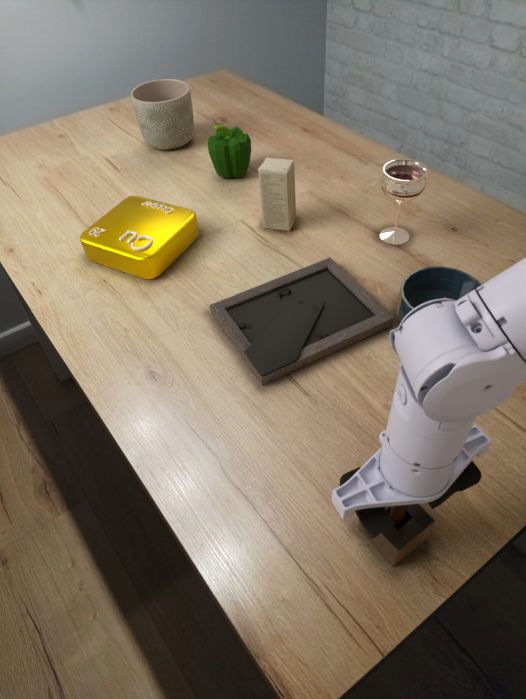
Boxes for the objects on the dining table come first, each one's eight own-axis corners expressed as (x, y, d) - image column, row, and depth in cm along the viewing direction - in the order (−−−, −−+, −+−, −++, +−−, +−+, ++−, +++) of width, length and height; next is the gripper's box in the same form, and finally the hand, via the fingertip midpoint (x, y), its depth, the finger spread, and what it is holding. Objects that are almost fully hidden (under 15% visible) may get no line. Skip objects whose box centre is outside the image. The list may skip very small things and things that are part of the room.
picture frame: (262, 385, 67) (392, 325, 73) (261, 375, 65) (394, 315, 71) (211, 312, 77) (329, 265, 83) (209, 302, 75) (330, 255, 81)
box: (296, 218, 92) (296, 159, 84) (289, 232, 89) (288, 173, 81) (268, 214, 93) (265, 156, 85) (261, 227, 91) (257, 169, 82)
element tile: (204, 232, 90) (200, 208, 87) (153, 283, 82) (146, 259, 78) (136, 213, 96) (130, 190, 92) (81, 259, 87) (72, 235, 84)
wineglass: (378, 221, 90) (386, 156, 81) (417, 227, 88) (431, 161, 79) (370, 244, 86) (378, 177, 77) (411, 250, 84) (425, 183, 75)
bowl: (482, 298, 76) (491, 275, 72) (474, 353, 69) (483, 330, 65) (404, 283, 79) (408, 260, 75) (389, 334, 72) (393, 311, 68)
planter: (133, 153, 112) (120, 101, 104) (153, 127, 120) (143, 77, 112) (187, 156, 110) (178, 103, 102) (204, 130, 118) (197, 79, 110)
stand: (392, 500, 55) (397, 482, 52) (428, 537, 52) (435, 520, 49) (357, 527, 53) (361, 510, 51) (392, 567, 51) (398, 551, 48)
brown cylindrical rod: (399, 527, 53) (415, 480, 46) (396, 539, 52) (412, 494, 45) (386, 522, 54) (400, 475, 46) (383, 535, 53) (396, 488, 45)
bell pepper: (252, 161, 107) (249, 112, 99) (253, 182, 101) (249, 131, 94) (212, 164, 107) (206, 115, 100) (210, 184, 101) (203, 134, 94)
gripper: (466, 368, 44) (435, 452, 54) (315, 431, 40) (312, 508, 50) (527, 431, 39) (480, 509, 49) (363, 508, 36) (349, 576, 46)
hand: (398, 513), depth 50 cm, fingers open, 6 cm apart
